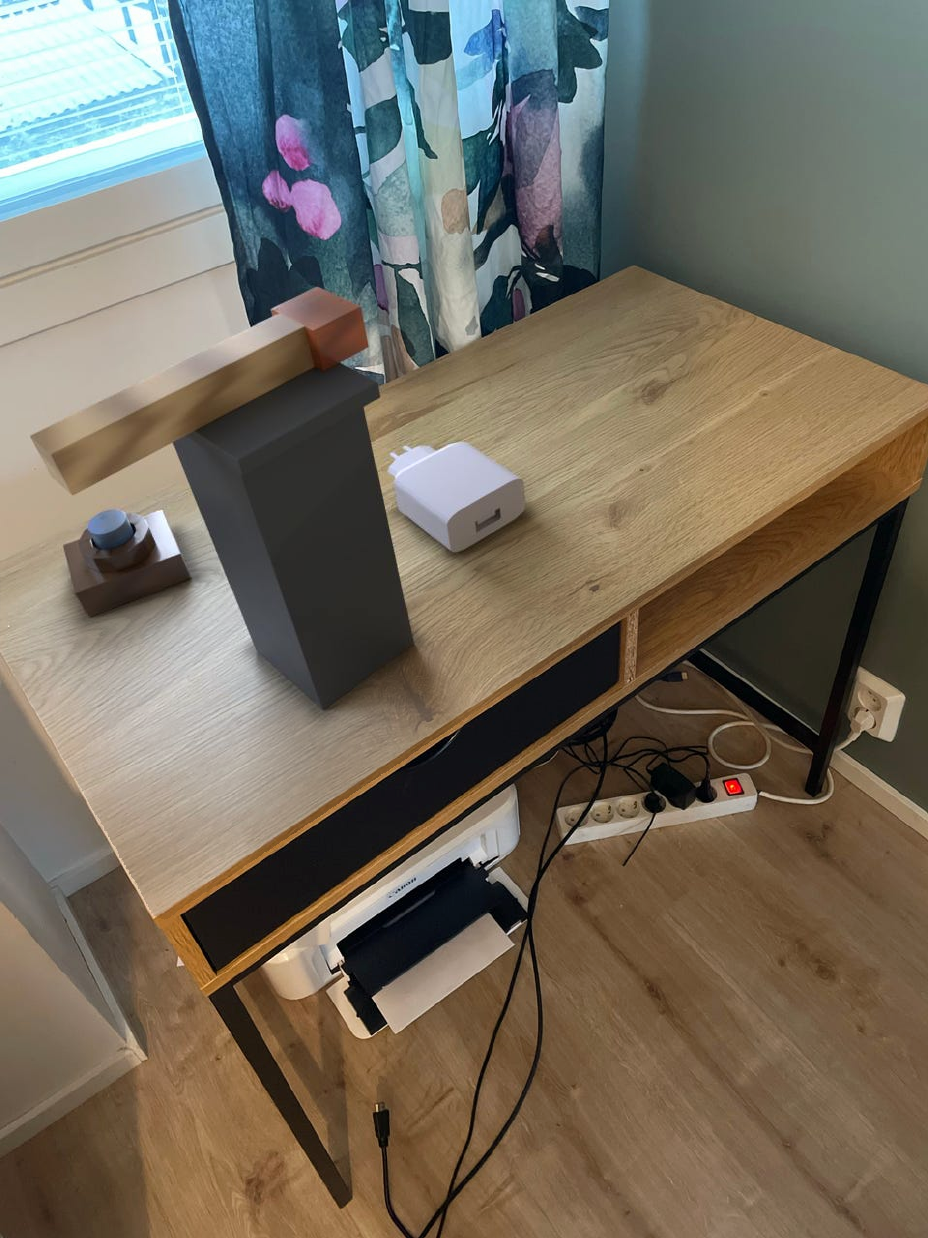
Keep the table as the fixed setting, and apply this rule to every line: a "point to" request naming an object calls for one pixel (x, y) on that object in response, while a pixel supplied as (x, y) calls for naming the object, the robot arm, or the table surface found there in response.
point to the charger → (455, 492)
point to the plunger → (110, 529)
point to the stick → (201, 389)
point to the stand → (304, 529)
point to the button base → (126, 565)
